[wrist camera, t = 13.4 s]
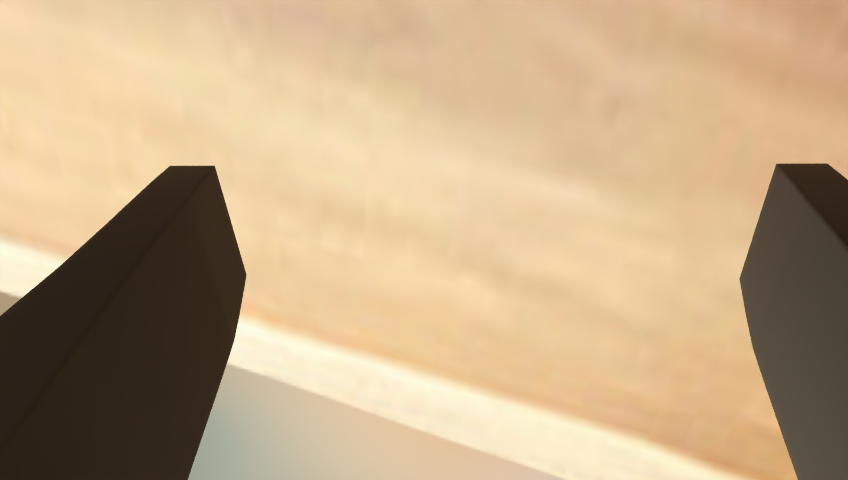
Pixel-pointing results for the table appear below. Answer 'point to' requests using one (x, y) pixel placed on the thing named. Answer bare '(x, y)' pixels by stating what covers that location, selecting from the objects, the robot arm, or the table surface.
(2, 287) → the table surface
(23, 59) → the table surface
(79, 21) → the table surface
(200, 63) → the table surface
